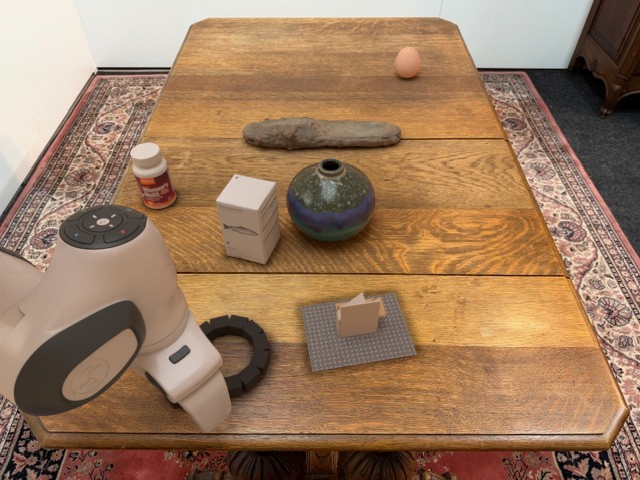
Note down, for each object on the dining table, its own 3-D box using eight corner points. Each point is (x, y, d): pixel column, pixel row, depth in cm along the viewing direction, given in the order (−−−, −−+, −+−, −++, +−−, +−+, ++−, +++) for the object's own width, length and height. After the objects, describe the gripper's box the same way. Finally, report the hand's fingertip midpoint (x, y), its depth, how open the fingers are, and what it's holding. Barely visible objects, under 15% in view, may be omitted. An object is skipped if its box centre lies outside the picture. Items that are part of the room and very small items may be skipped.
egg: (392, 71, 128) (395, 41, 123) (417, 71, 128) (421, 42, 122) (394, 82, 124) (397, 52, 118) (419, 82, 123) (424, 53, 118)
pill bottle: (148, 214, 88) (130, 164, 80) (141, 195, 92) (123, 146, 84) (180, 203, 90) (166, 154, 82) (172, 185, 94) (157, 137, 86)
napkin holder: (334, 318, 71) (334, 287, 66) (378, 312, 72) (382, 280, 67) (338, 338, 69) (339, 307, 64) (384, 330, 70) (389, 299, 64)
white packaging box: (225, 256, 80) (213, 200, 72) (244, 228, 85) (234, 171, 76) (265, 266, 79) (257, 210, 70) (282, 237, 84) (276, 180, 75)
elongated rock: (402, 157, 102) (396, 134, 110) (406, 136, 99) (400, 113, 106) (240, 151, 101) (245, 128, 109) (238, 129, 98) (244, 107, 105)
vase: (271, 221, 86) (264, 162, 77) (334, 187, 93) (335, 128, 84) (325, 270, 78) (325, 209, 69) (390, 228, 85) (398, 168, 75)
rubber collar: (197, 436, 59) (192, 426, 56) (145, 376, 65) (139, 364, 62) (287, 356, 66) (285, 345, 64) (233, 309, 72) (230, 297, 70)
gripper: (78, 293, 55) (115, 356, 65) (180, 408, 45) (206, 463, 55) (126, 264, 58) (155, 328, 68) (232, 365, 48) (247, 424, 58)
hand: (178, 389), depth 61 cm, fingers closed on rubber collar, 2 cm apart
